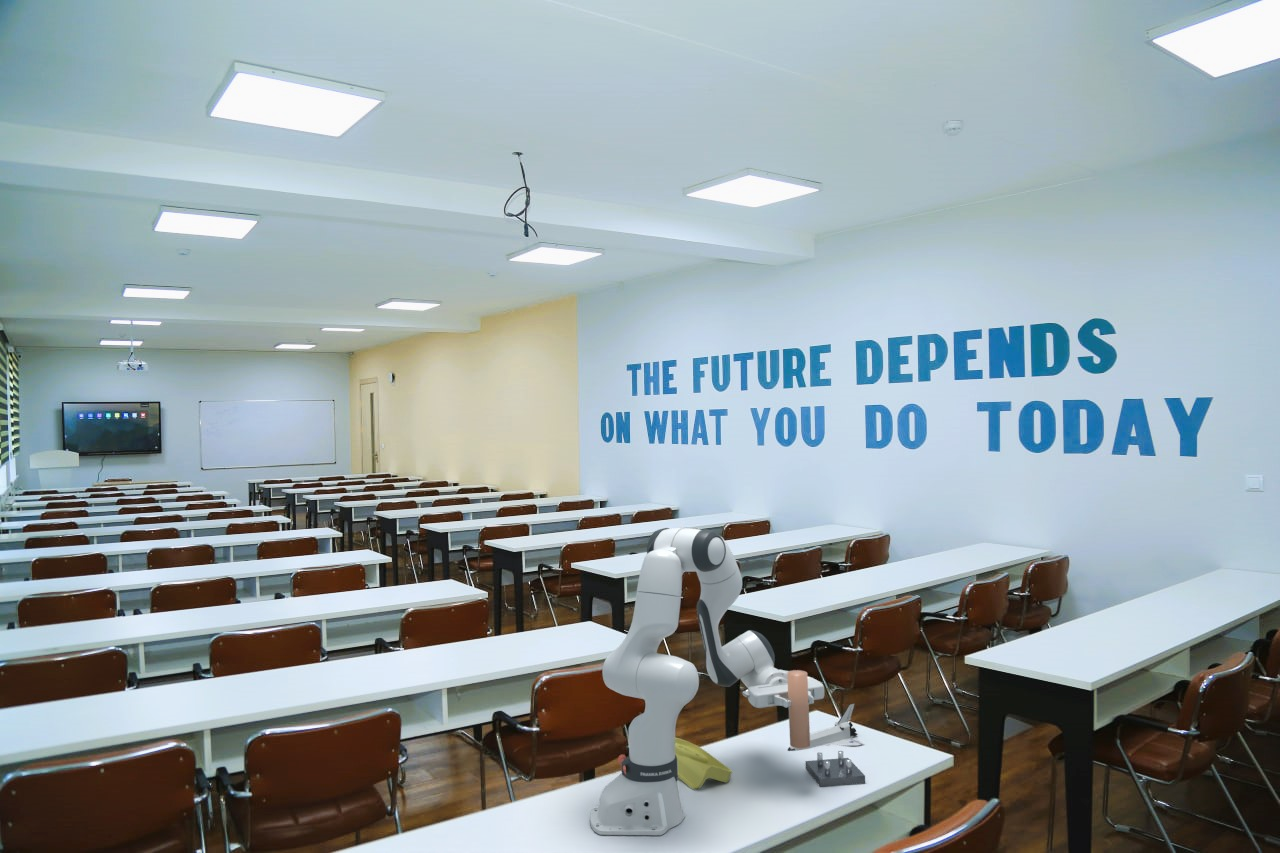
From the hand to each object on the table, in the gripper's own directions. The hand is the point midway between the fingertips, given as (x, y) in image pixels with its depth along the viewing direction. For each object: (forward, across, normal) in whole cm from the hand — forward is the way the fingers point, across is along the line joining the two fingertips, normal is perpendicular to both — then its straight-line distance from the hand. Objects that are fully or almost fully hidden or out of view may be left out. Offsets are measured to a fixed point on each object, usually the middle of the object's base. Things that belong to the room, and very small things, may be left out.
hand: (800, 702), depth 200 cm
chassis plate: (-7, +13, +23) cm, 27 cm away
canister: (-1, 0, +11) cm, 11 cm away
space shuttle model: (-29, +22, +24) cm, 44 cm away
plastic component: (-22, -20, +24) cm, 38 cm away
